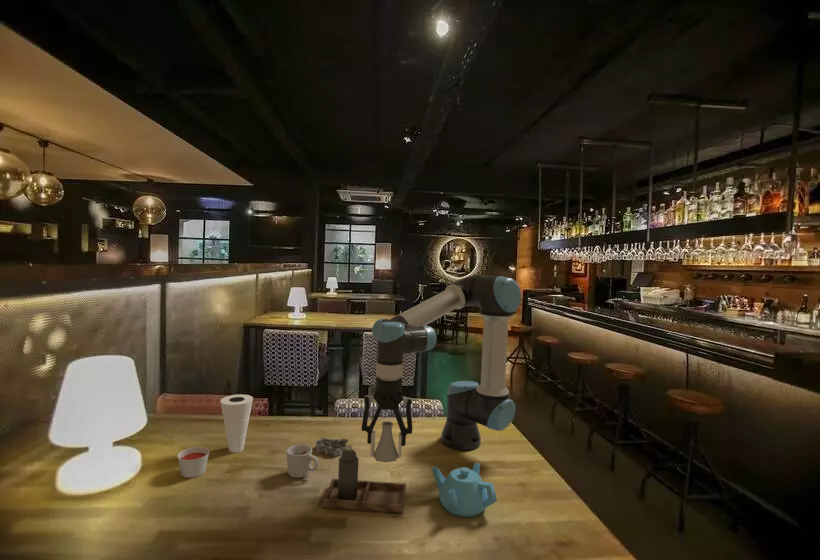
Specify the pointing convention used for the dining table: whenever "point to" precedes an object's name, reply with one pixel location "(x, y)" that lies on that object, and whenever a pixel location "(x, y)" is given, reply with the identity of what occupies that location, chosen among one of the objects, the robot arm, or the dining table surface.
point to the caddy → (369, 497)
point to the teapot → (464, 491)
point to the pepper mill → (348, 475)
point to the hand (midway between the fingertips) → (386, 455)
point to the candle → (193, 461)
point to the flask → (386, 445)
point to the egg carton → (326, 445)
